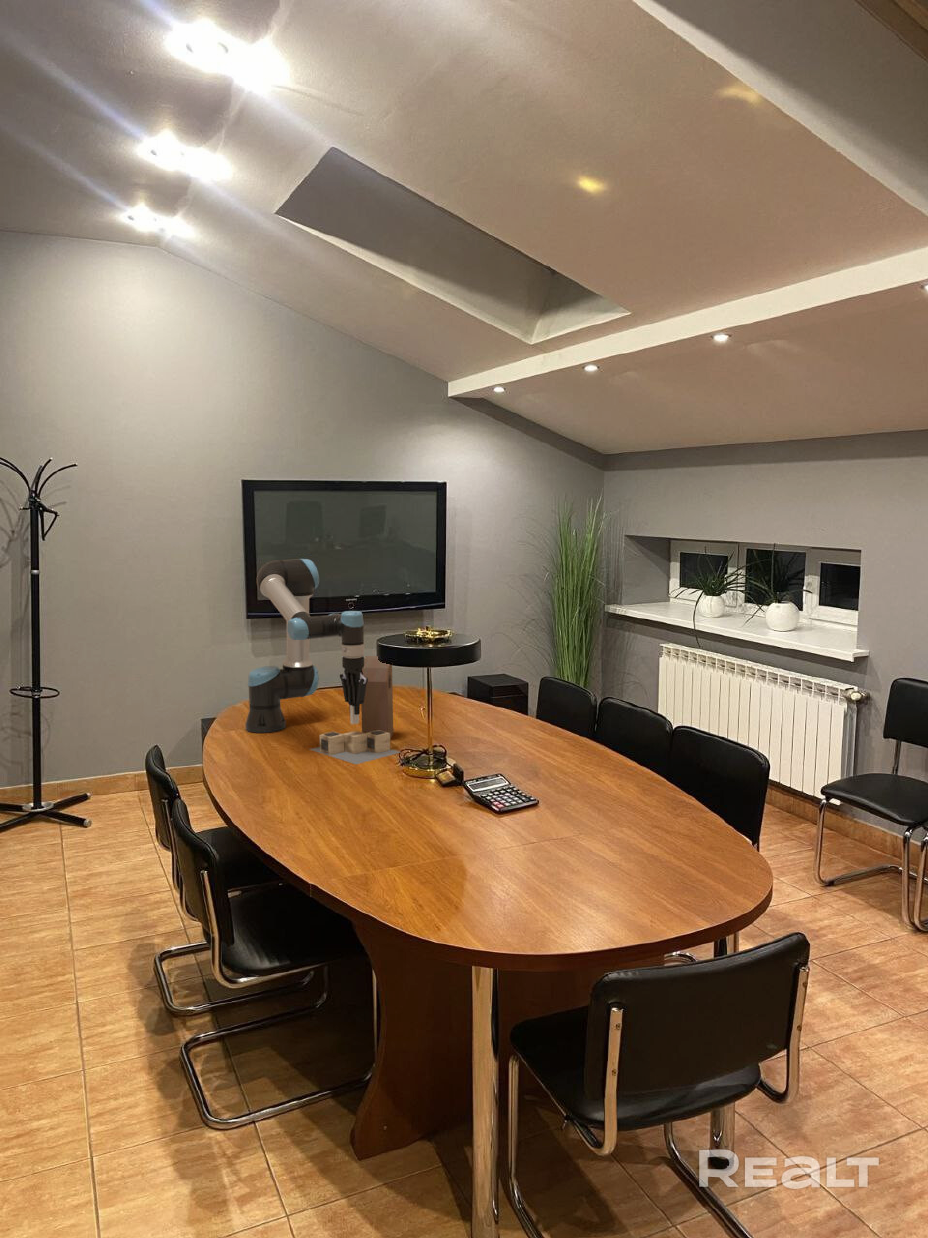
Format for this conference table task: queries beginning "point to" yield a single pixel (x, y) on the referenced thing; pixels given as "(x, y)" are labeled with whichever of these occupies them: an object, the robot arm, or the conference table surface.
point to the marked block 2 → (378, 741)
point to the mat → (359, 755)
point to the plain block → (355, 742)
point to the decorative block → (377, 696)
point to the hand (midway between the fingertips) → (354, 723)
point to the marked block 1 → (331, 743)
